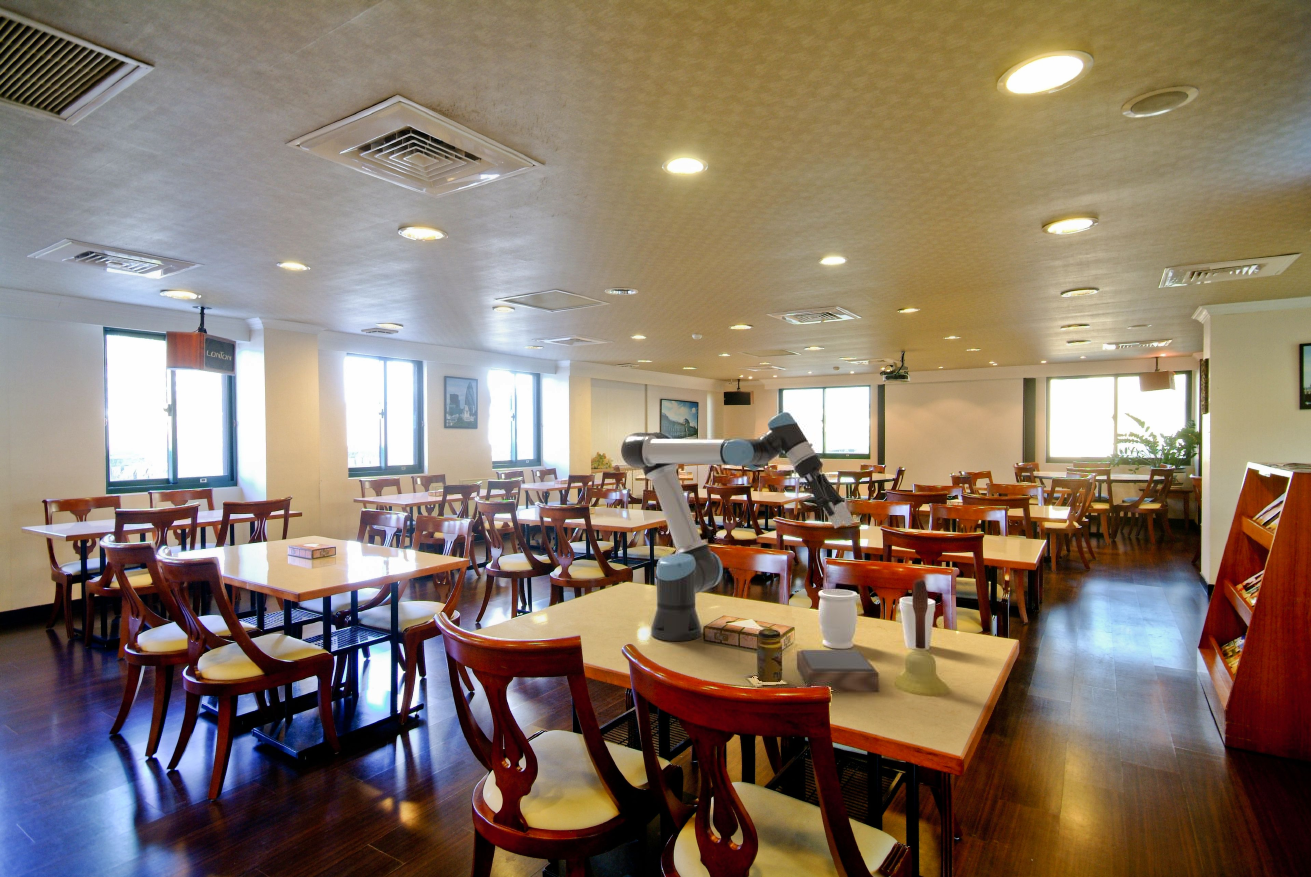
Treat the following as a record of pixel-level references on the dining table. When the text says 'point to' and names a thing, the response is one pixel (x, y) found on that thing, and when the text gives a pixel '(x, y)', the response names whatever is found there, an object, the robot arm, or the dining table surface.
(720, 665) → the dining table surface
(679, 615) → the robot arm
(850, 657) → the stand
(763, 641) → the condiment
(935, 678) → the handbell
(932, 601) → the foam cup
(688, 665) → the dining table surface
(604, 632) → the dining table surface
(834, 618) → the jar
